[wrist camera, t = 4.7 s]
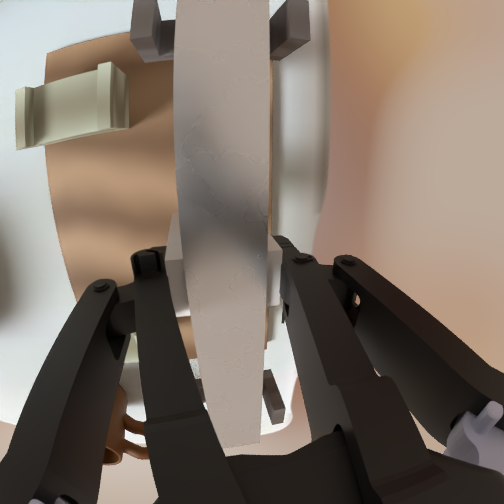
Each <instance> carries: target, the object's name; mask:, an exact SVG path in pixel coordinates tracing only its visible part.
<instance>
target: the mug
mask: <svg viewBox="0 0 504 504" xmlns="http://www.w3.org/2000/svg"><path fill="white" fill-rule="evenodd" d="M126 409H127V397H126V394H125V392H124V390H123V389H122V388H121V386H120V385H118V389H117V393H116V397H115V402H114V406H113V411H112V415H111V420H110V425H109V430H108V436H107V441H106V447H105V453H104V459H103V465H116V464H118V463H120V462H121V460H122V455H123V453H127V454H129V455H131V456H133V457H135V458H137V459H142V460H143V459H149V455H148V450H147V447H141V446H139V445H136V444H134V443H132V442H130V441H128V440H126V439H124V437H125V429H126V430H127V431H129V432H131V433H134V434H140V435H143V436H145V435H144V427H143V424H144V422H141V421H137V420H134V419H133V418H131V417H130V416H129V415H128V414H126Z"/></svg>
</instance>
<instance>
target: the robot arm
mask: <svg viewBox="0 0 504 504" xmlns="http://www.w3.org/2000/svg"><path fill="white" fill-rule="evenodd" d="M130 260H131V265H132V270H133V275H134V282H132V283H130V284H127V285H124V286H120V287H117V284H116V282H115V281H114V280H112V279H98V280H96V281H94V282H93V283H91V284H90V285H89V286H88V287H87V288H86V290H85V291H84V293H83V294H82V296H81V298H80V299H79V301H78V302H77V304H76V306H75V307H74V309H73V311H72V312H71V314H70V316H69V317H68V319H67V321H66V323H65V324H64V326H63V328H62V330H61V331H60V333H59V335H58V337H57V339H56V340H55V342H54V344H53V346H52V348H51V350H50V352H49V354H48V356H47V358H46V359H45V361H44V363H43V365H42V368H41V370H40V372H39V374H38V376H37V378H36V380H35V382H34V384H33V387H32V389H31V391H30V393H29V396H28V398H27V400H26V403H25V405H24V408H23V410H22V412H21V415H20V418H19V420H18V423H17V425H16V428H15V431H14V434H13V437H12V440H11V443H10V445H9V449H8V452H7V454H6V455H5V457H4V458H3V459H2V461H1V462H0V504H97V500H98V494H99V488H100V480H101V473H102V466H103V459H104V453H105V447H106V441H107V436H108V430H109V425H110V420H111V415H112V411H113V406H114V402H115V397H116V393H117V389H118V385H119V380H120V376H121V373H122V369H123V365H124V361H125V357H126V354H127V350H128V347H129V343H130V340H131V333H134V332H136V337H137V349H138V359H139V369H140V377H141V385H142V392H143V399H144V405H145V412H146V421H145V422H144V424H143V427H144V435H145V440H146V445H147V450H148V455H149V460H150V464H151V469H152V472H153V477H154V481H155V485H156V488H157V492H158V496H159V497H158V498H157V500H156V501H155V502H154V503H153V504H504V373H502V372H500V371H498V370H497V369H495V368H492V367H491V366H489V365H488V364H487V363H486V362H485V361H484V360H483V359H482V358H481V357H479V356H478V355H477V354H476V353H475V352H474V351H473V350H472V349H470V348H469V347H468V346H467V345H466V344H465V343H464V342H463V341H462V340H460V339H459V338H458V337H457V336H456V335H454V333H452V332H451V331H450V330H449V329H448V328H447V327H445V326H444V325H443V324H442V323H440V322H439V321H438V320H437V319H436V318H435V317H433V316H432V315H431V314H430V313H428V312H427V311H426V310H425V309H424V308H422V307H421V306H420V305H419V304H417V303H416V302H415V301H414V300H412V299H411V298H410V297H409V296H407V295H406V294H405V293H404V292H402V291H401V290H400V289H398V288H397V287H396V286H395V285H393V284H392V283H391V282H389V281H388V280H387V279H385V278H384V277H383V276H382V275H380V274H379V273H377V272H376V271H375V270H374V269H372V268H371V267H370V266H368V265H367V264H365V263H364V262H363V261H362V260H360V259H358V258H356V257H353V256H352V255H340V256H337V257H335V258H334V264H333V265H321V264H318V262H317V260H316V259H315V258H314V257H313V256H312V255H309V254H305V253H300V252H299V251H298V250H297V248H296V247H294V245H293V244H292V243H291V242H290V241H289V239H288V238H285V237H283V236H281V235H280V236H271V234H270V233H269V232H268V252H267V287H266V307H270V306H277V305H280V295H281V297H282V299H283V312H282V323H284V320H285V322H286V326H287V330H288V334H289V338H290V343H291V347H292V351H293V355H294V360H295V364H296V368H297V373H298V377H299V381H300V386H301V390H302V394H303V398H304V403H305V408H306V412H307V416H308V421H309V426H310V430H311V437H312V442H311V443H309V444H308V445H306V446H304V447H302V448H300V449H298V450H296V451H294V452H292V453H290V454H288V455H243V454H242V455H236V456H227V457H226V456H225V454H224V452H223V449H222V447H221V444H220V442H219V439H218V437H217V434H216V432H215V429H214V427H213V424H212V421H211V419H210V416H209V414H208V412H207V410H205V407H204V405H203V402H202V399H201V396H200V393H199V390H198V387H197V384H196V381H195V378H194V375H193V372H192V369H191V366H190V362H189V359H188V356H187V353H186V349H185V346H184V342H183V339H182V335H181V332H180V328H179V325H178V321H177V317H181V316H190V309H189V302H188V295H187V288H186V280H185V272H184V264H183V255H182V246H181V236H180V225H179V214H178V213H172V218H171V224H170V230H169V236H168V242H167V246H158V247H151V248H150V249H143V250H140V251H137V252H135V253H134V254H132V255H131V257H130ZM357 295H358V296H359V298H360V304H359V305H357V304H356V303H355V301H356V296H357ZM373 367H374V368H375V370H376V371H377V372H378V373H379V374H380V375H381V377H379V376H378V375H377V374H376V372H375V370H374V368H373ZM409 411H410V412H411V413H412V414H413V415H414V417H415V418H416V419H417V420H418V421H419V423H420V424H421V425H422V426H423V427H424V428H425V430H426V431H427V432H428V433H429V434H430V435H431V436H432V437H434V438H435V439H436V440H437V441H438V442H440V443H441V444H442V445H444V446H445V447H447V449H446V450H445V451H444V454H441V453H438V452H435V451H432V450H430V449H427V448H426V446H425V444H424V441H423V439H422V437H421V435H420V433H419V431H418V428H417V426H416V424H415V422H414V420H413V418H412V416H411V413H410V412H409Z"/></svg>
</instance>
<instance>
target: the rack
mask: <svg viewBox="0 0 504 504" xmlns="http://www.w3.org/2000/svg"><path fill="white" fill-rule="evenodd" d="M175 22H176V20H165V21H161V16H160V12H159V7H158V3H157V0H134V3H133V11H132V19H131V29H130V32H127V33H121V34H116V35H111V36H106V37H102V38H98V39H94V40H90V41H86V42H82V43H78V44H75V45H72V46H68V47H65V48H62V49H59V50H56V51H53V52H50V53H47V57H46V67H45V81H44V85H42V86H39V87H36V88H30V87H23V88H20V89H18V90H16V102H15V129H16V150H21V149H26V148H31V147H37V146H43V145H45V154H46V165H47V175H48V183H49V190H50V196H51V203H52V209H53V214H54V219H55V224H56V229H57V234H58V238H59V242H60V247H61V251H62V255H63V258H64V262H65V266H66V269H67V273H68V276H69V280H70V283H71V286H72V289H73V292H74V295H75V298H76V301H77V302H78V301H79V299H80V298H81V296H82V294H83V293H84V291H85V290H86V288H87V287H88V286H89V285H90V284H91V283H93V282H94V281H96V280H98V279H112V280H114V281H115V282H116V284H117V287H120V286H124V285H127V284H130V283H132V282H134V275H133V270H132V265H131V260H130V257H131V255H132V254H134V253H135V252H137V251H140V250H143V249H150V248H151V247H158V246H167V242H168V236H169V230H170V224H171V218H172V213H178V201H177V187H176V171H175V150H174V116H173V73H174V41H175ZM269 36H270V137H269V207H268V232H269V233H270V234H271V199H272V120H273V69H272V60H279V61H280V60H282V59H283V58H285V57H286V56H287V55H289V54H290V53H292V52H293V51H295V50H296V49H298V48H299V47H301V46H302V45H304V44H305V43H307V42H308V41H310V20H309V2H308V0H286V1H285V2H284V3H283V4H282V6H281V7H280V8H279V9H278V10H277V11H276V13H275V14H274V15H273V16H272V17H271V19H270V20H269ZM177 321H178V325H179V328H180V332H181V335H182V339H183V342H184V346H185V349H186V353H187V356H188V359H194V358H197V353H196V347H195V341H194V335H193V329H192V323H191V316H181V317H177ZM267 329H268V307H266V317H265V344H264V350H265V349H267ZM135 362H139V359H138V349H137V337H136V332H134V333H131V340H130V343H129V347H128V350H127V354H126V357H125V361H124V363H135ZM195 381H196V384H197V387H198V390H199V393H200V396H201V399H202V402H203V403H204V402H206V399H205V394H204V389H203V385H202V379H195ZM262 395H263V398H264V401H265V405H266V408H267V411H268V414H269V417H270V420H271V423H272V425H274V424H279V423H283V420H284V414H285V406H284V403H283V400H282V398H281V395H280V392H279V390H278V387H277V384H276V382H275V379H274V376H273V374H272V371H271V369H269V370H263V390H262Z"/></svg>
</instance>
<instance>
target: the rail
mask: <svg viewBox="0 0 504 504" xmlns="http://www.w3.org/2000/svg"><path fill="white" fill-rule="evenodd" d="M173 116H174V150H175V171H176V187H177V201H178V214H179V225H180V236H181V246H182V255H183V264H184V272H185V280H186V288H187V295H188V302H189V309H190V316H191V323H192V329H193V335H194V341H195V347H196V353H197V358H198V364H199V369H200V374H201V379H202V385H203V389H204V394H205V399H206V404H207V408H208V413H209V416H210V419H211V421H212V424H213V427H214V429H215V432H216V434H217V437H218V439H219V442H220V444H221V447H222V448H229V447H236V446H243V445H249V444H254V443H259V442H260V430H261V411H262V390H263V368H264V344H265V317H266V287H267V252H268V207H269V137H270V36H269V0H177V8H176V22H175V41H174V73H173Z"/></svg>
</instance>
